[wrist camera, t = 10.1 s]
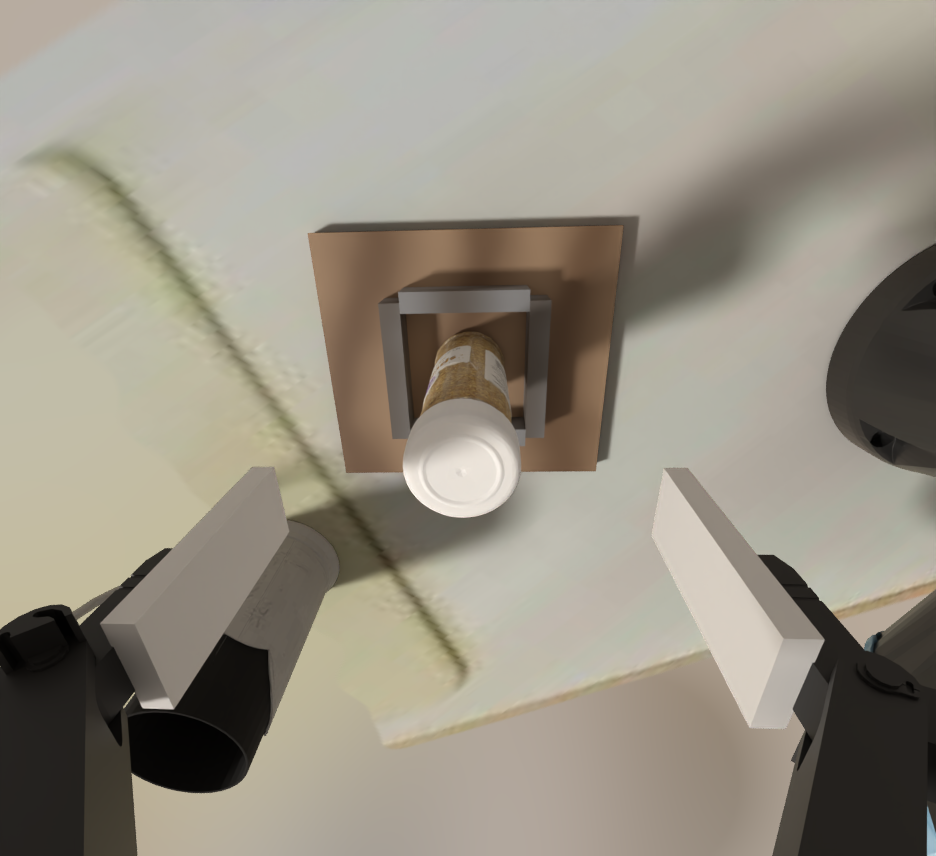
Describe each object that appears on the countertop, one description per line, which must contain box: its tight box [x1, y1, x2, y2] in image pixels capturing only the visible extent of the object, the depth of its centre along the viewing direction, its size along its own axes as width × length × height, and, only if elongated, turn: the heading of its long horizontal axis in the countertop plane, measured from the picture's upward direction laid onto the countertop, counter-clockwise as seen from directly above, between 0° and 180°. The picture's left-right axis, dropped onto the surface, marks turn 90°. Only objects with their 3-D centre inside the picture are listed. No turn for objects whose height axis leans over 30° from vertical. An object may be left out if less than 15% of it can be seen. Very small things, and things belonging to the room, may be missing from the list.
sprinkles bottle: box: [403, 331, 521, 518], centre depth 23 cm, size 5×5×14 cm
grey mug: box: [72, 520, 340, 793], centre depth 30 cm, size 9×14×15 cm, turn 64°
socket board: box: [308, 225, 624, 473], centre depth 28 cm, size 18×16×3 cm
